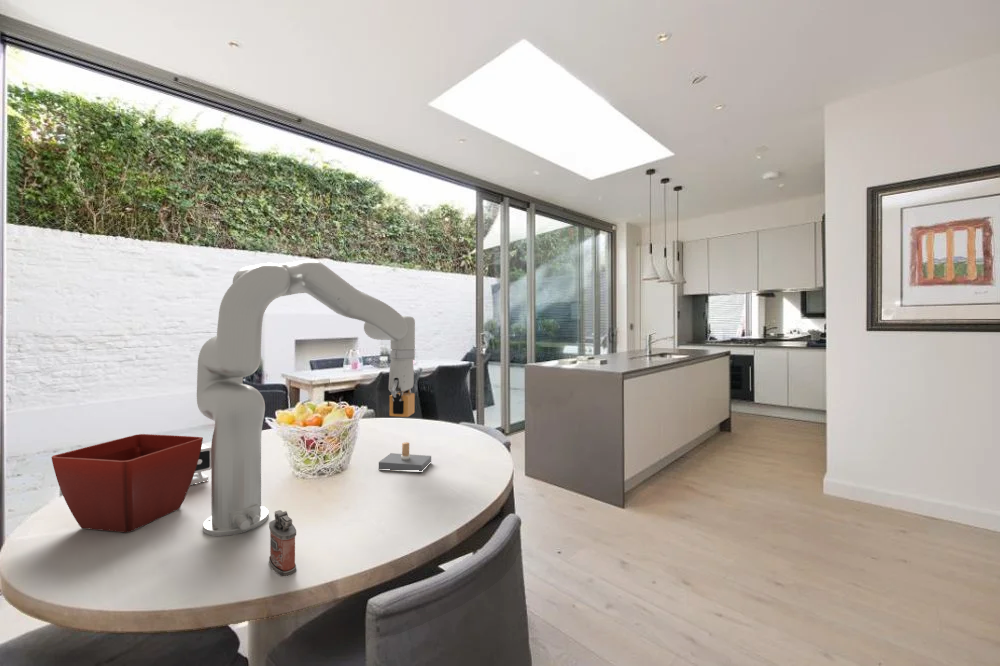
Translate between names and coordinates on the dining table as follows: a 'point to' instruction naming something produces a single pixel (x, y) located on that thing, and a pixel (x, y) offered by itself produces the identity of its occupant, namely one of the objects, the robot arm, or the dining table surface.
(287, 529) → the lighter
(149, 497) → the plant pot
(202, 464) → the security camera
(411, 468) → the grey platform with peg
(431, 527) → the dining table surface
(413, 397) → the wooden cube
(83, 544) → the dining table surface
